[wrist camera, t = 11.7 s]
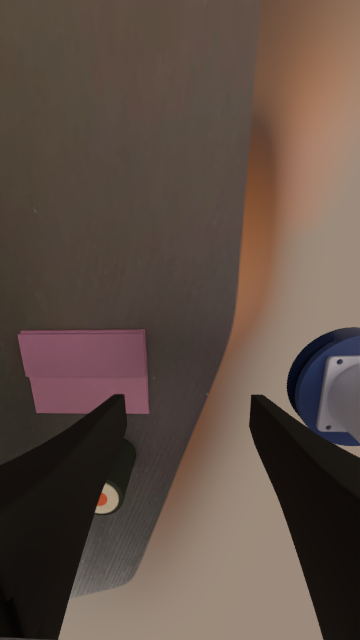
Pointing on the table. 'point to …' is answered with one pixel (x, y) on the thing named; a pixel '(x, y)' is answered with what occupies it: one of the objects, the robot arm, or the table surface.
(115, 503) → the sushi roll
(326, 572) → the robot arm
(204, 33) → the table surface
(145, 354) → the napkin
